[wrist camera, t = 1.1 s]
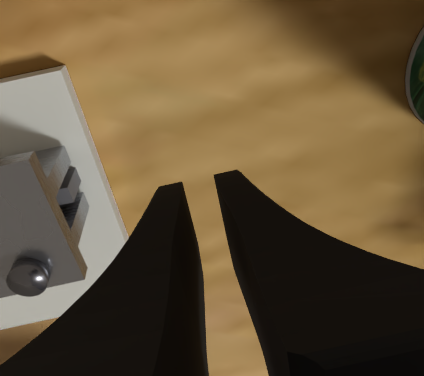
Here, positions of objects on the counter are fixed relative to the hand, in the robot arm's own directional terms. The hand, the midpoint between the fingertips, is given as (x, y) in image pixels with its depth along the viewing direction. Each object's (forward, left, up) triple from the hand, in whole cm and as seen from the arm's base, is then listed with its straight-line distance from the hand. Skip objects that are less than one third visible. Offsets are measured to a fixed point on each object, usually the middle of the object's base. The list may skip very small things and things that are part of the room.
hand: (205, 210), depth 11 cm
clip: (-2, +8, -9) cm, 12 cm away
